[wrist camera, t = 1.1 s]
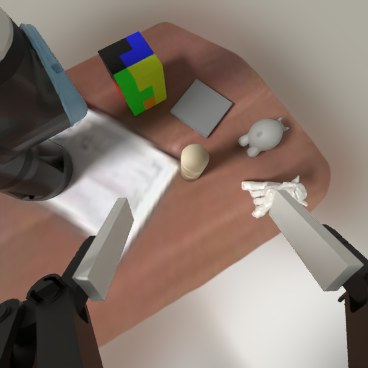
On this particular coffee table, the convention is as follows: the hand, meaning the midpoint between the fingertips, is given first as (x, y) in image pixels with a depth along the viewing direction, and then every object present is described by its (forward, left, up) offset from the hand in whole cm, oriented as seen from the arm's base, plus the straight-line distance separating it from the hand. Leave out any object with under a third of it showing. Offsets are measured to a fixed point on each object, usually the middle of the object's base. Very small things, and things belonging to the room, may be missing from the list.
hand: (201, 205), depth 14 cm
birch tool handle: (-4, +7, -24) cm, 26 cm away
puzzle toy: (-28, +17, -24) cm, 41 cm away
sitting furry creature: (+14, +13, -24) cm, 31 cm away
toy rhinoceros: (+5, +25, -24) cm, 36 cm away
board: (-12, +23, -24) cm, 36 cm away
